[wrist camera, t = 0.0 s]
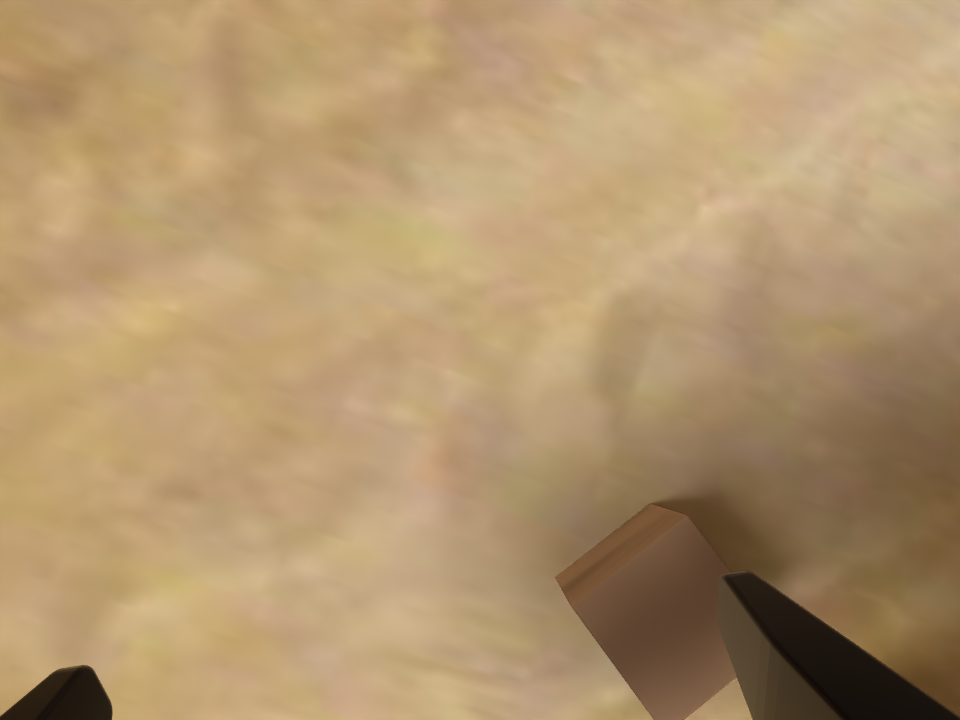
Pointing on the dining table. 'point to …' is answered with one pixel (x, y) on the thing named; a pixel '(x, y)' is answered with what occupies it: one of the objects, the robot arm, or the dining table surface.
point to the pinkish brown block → (655, 610)
